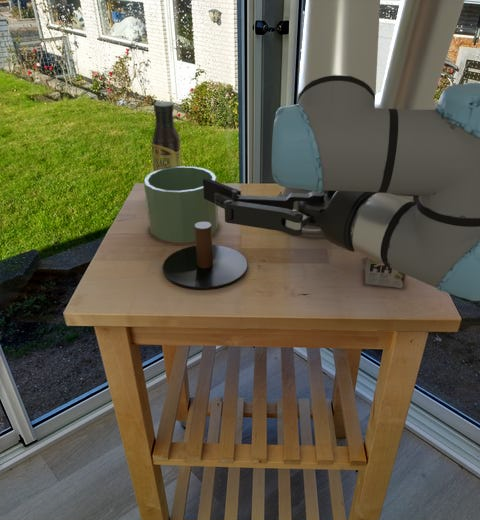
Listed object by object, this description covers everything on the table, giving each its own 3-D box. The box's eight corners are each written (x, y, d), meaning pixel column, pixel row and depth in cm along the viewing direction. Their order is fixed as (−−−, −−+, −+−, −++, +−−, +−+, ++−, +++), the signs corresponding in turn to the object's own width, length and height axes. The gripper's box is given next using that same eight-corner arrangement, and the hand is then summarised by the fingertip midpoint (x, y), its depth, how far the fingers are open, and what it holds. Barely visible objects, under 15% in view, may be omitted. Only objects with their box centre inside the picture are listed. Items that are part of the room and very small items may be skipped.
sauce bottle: (150, 194, 115) (139, 104, 103) (168, 186, 119) (159, 98, 107) (171, 201, 112) (163, 108, 100) (189, 192, 116) (182, 102, 104)
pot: (221, 215, 106) (220, 167, 99) (212, 245, 95) (209, 193, 88) (159, 213, 107) (154, 165, 100) (142, 242, 96) (135, 190, 90)
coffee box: (403, 289, 82) (424, 196, 72) (364, 284, 83) (379, 193, 73) (401, 262, 89) (419, 174, 80) (364, 258, 90) (378, 171, 81)
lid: (250, 252, 92) (251, 208, 87) (242, 295, 81) (242, 248, 75) (173, 248, 94) (169, 205, 89) (154, 290, 82) (148, 243, 77)
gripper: (293, 290, 53) (173, 226, 65) (418, 221, 66) (299, 179, 79) (298, 225, 48) (168, 170, 61) (431, 165, 62) (303, 131, 74)
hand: (242, 175), depth 70 cm, fingers open, 13 cm apart
